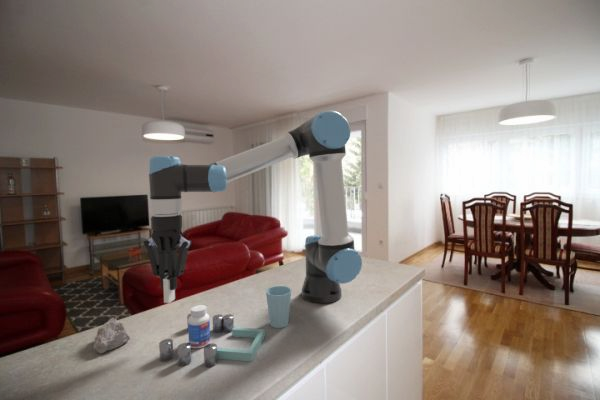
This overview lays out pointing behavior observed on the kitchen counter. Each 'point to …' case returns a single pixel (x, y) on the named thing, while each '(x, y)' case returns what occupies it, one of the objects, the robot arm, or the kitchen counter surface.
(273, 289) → the cup
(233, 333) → the teal bay
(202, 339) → the pill bottle
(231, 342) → the kitchen counter surface
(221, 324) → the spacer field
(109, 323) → the stone
